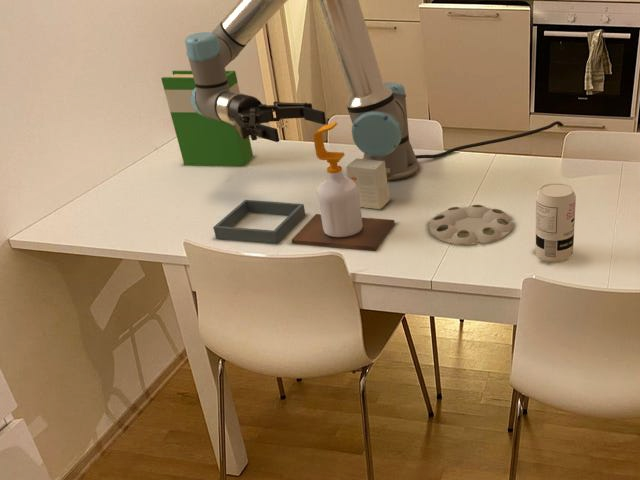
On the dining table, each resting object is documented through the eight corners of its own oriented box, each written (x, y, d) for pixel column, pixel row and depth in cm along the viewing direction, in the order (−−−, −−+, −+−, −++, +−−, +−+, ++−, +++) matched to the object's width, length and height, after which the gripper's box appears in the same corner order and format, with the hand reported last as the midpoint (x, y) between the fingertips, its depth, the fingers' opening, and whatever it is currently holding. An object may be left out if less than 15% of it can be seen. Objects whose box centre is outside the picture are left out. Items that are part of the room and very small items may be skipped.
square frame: (305, 215, 184) (303, 203, 182) (277, 244, 172) (275, 232, 170) (247, 210, 187) (245, 199, 186) (216, 238, 175) (212, 227, 173)
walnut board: (394, 223, 179) (394, 219, 178) (375, 250, 168) (374, 246, 167) (316, 217, 183) (315, 213, 182) (292, 243, 172) (291, 239, 171)
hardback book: (184, 165, 214) (161, 78, 200) (195, 155, 220) (173, 70, 206) (243, 166, 212) (224, 78, 198) (253, 156, 218) (235, 70, 204)
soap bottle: (355, 239, 170) (340, 132, 156) (317, 236, 172) (299, 130, 158) (368, 222, 178) (355, 118, 163) (331, 220, 179) (315, 116, 165)
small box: (390, 200, 190) (385, 160, 184) (380, 210, 185) (375, 168, 179) (361, 197, 192) (356, 157, 186) (351, 206, 188) (345, 165, 182)
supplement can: (532, 247, 167) (533, 183, 158) (569, 245, 167) (572, 181, 159) (537, 265, 160) (539, 199, 152) (576, 262, 161) (579, 196, 152)
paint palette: (456, 253, 166) (456, 245, 165) (414, 222, 179) (413, 214, 178) (529, 230, 174) (529, 222, 173) (483, 201, 188) (483, 194, 186)
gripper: (285, 112, 187) (344, 127, 177) (200, 141, 172) (259, 160, 161) (279, 81, 183) (340, 95, 172) (191, 108, 167) (252, 125, 156)
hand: (301, 126), depth 166 cm, fingers open, 13 cm apart
